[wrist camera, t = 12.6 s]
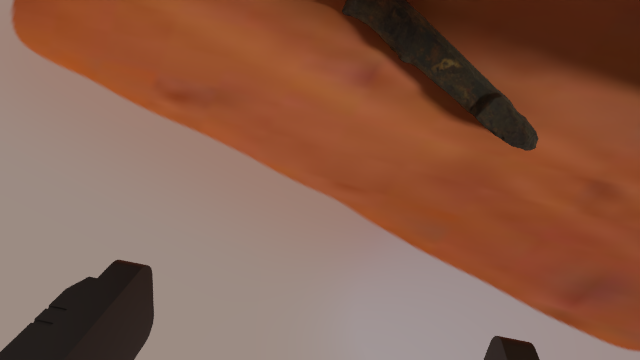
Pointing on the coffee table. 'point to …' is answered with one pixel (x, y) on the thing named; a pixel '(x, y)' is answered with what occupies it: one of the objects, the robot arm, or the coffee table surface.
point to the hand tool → (444, 66)
